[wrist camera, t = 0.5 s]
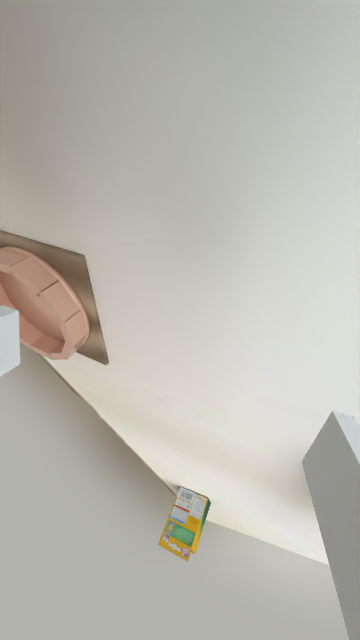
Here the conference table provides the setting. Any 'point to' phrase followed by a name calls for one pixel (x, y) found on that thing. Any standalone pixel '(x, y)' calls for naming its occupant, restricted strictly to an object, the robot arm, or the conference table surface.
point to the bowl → (42, 304)
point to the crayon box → (185, 523)
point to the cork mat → (79, 279)
